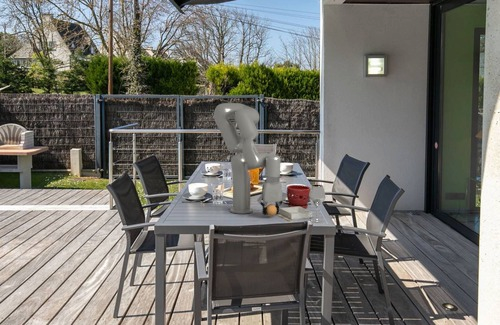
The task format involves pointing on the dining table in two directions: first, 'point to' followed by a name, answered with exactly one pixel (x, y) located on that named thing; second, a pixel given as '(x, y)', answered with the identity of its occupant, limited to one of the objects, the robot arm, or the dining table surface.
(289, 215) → the tray
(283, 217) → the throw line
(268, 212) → the ball
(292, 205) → the plant pot
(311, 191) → the wineglass
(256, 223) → the dining table surface
